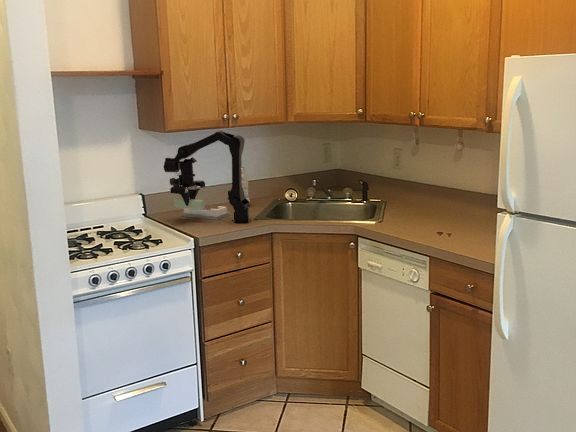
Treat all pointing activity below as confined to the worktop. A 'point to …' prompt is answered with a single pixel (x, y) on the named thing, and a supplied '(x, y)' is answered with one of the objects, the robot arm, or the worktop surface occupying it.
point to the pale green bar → (192, 203)
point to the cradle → (207, 213)
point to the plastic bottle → (245, 183)
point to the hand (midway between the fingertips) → (189, 204)
